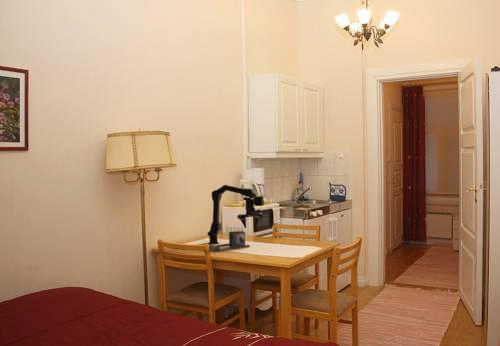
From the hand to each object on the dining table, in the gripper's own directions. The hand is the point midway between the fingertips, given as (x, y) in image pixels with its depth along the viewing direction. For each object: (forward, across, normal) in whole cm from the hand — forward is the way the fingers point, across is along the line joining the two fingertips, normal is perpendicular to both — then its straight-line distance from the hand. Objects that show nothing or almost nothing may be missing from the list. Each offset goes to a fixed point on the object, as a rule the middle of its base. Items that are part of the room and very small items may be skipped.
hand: (250, 227), depth 340 cm
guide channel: (+12, -20, 0) cm, 23 cm away
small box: (+12, -12, 0) cm, 17 cm away
